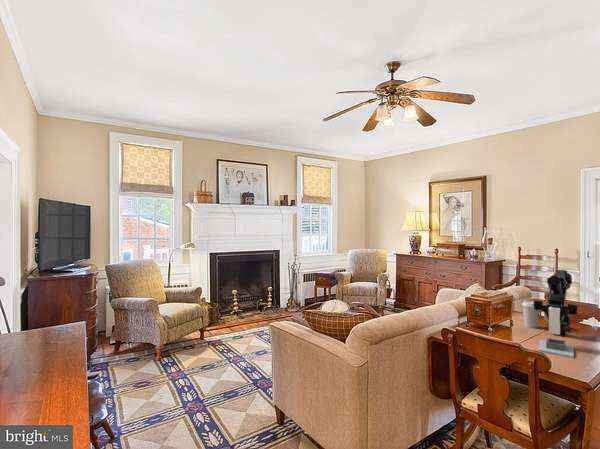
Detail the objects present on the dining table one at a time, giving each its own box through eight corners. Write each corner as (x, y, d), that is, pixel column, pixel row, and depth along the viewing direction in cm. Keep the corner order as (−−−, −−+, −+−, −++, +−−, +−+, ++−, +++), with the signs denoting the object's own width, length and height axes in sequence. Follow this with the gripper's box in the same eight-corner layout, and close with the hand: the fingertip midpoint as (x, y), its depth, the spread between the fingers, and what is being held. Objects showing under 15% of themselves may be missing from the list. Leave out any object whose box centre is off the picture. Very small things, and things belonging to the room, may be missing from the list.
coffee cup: (539, 325, 218) (539, 301, 218) (540, 329, 210) (540, 304, 210) (521, 323, 223) (521, 300, 223) (521, 327, 215) (521, 303, 215)
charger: (549, 331, 185) (549, 306, 185) (560, 332, 182) (560, 307, 182) (548, 333, 182) (548, 307, 182) (559, 334, 179) (559, 309, 179)
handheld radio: (549, 320, 229) (573, 332, 205) (544, 320, 230) (566, 332, 205) (549, 310, 229) (572, 321, 205) (543, 310, 230) (566, 321, 205)
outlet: (540, 341, 188) (540, 334, 188) (573, 347, 180) (573, 339, 180) (538, 351, 174) (538, 343, 174) (573, 358, 166) (573, 349, 166)
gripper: (533, 285, 191) (531, 309, 182) (577, 289, 179) (576, 315, 171) (535, 297, 197) (533, 321, 189) (577, 301, 185) (577, 327, 177)
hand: (554, 321), depth 181 cm, fingers closed on charger, 4 cm apart
